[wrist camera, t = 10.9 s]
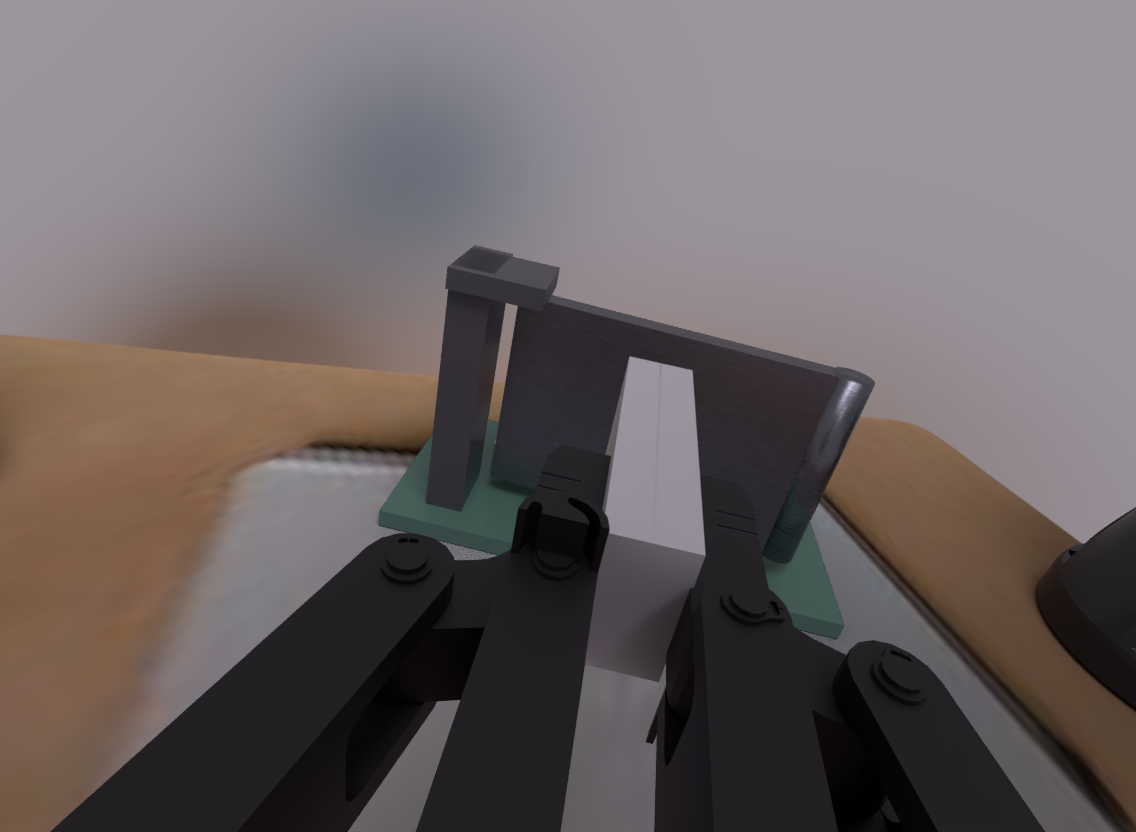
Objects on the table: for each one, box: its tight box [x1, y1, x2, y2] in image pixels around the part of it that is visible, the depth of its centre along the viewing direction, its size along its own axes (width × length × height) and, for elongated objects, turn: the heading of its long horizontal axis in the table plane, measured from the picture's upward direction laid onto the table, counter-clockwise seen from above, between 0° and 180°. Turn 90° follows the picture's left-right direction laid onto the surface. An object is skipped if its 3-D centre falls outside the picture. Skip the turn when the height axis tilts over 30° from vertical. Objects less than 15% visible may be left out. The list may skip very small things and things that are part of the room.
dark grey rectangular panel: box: [490, 295, 875, 564], centre depth 34 cm, size 18×2×11 cm, turn 78°
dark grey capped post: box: [426, 246, 560, 512], centre depth 33 cm, size 4×4×14 cm
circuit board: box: [379, 420, 844, 639], centre depth 39 cm, size 25×12×1 cm, turn 82°
